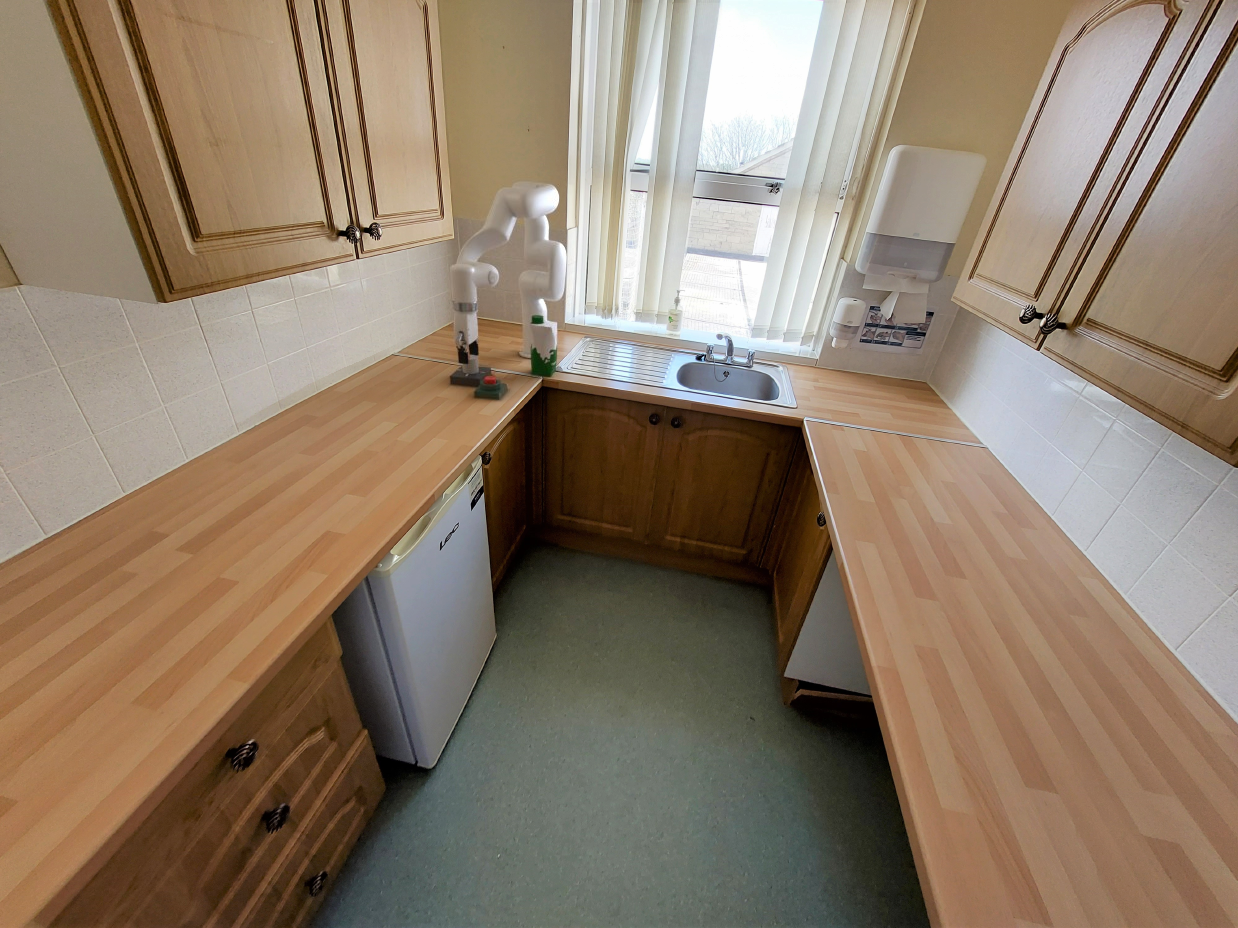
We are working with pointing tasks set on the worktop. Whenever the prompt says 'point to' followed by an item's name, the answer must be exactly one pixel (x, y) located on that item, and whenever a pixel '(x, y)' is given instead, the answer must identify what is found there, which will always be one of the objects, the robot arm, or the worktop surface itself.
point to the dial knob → (471, 365)
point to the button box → (490, 390)
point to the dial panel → (469, 377)
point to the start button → (490, 380)
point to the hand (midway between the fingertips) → (469, 359)
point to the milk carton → (543, 346)
